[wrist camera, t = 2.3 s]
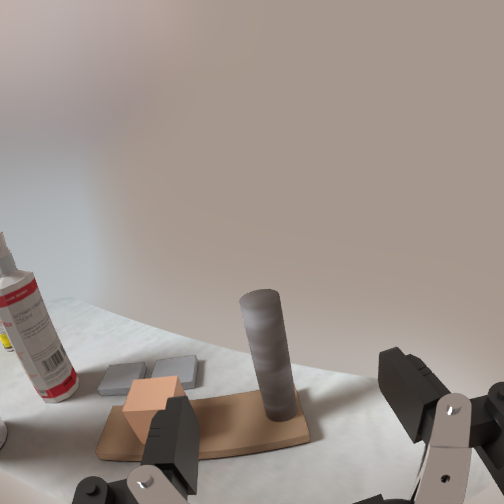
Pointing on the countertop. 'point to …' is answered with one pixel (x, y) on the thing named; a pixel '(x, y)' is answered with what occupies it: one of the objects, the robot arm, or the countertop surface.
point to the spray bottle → (33, 332)
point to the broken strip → (124, 374)
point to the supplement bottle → (5, 339)
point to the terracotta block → (149, 401)
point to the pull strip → (236, 398)
